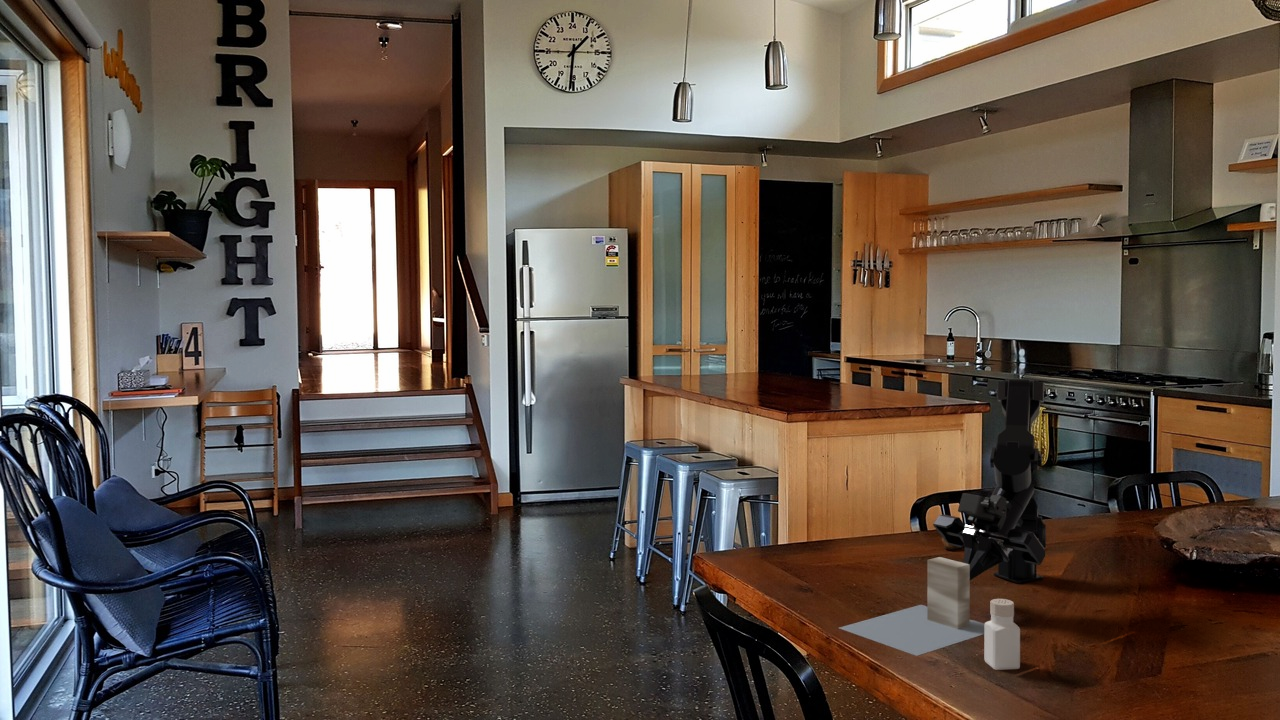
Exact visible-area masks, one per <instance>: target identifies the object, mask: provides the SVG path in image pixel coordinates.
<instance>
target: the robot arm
mask: <svg viewBox="0 0 1280 720" xmlns="http://www.w3.org/2000/svg"><path fill="white" fill-rule="evenodd" d="M996 397H997V402H999V403H1000V404H1001V410H1002V411H1001V412H1002V414H1003V415H1004V417H1005V419H1004V420H1005V421H1004V422H1005V423H1004V429H1003V430H1002V431H1001V432H999V433H998V434H997V436H996V443H995V445H996V446H992V447H991V452H990V457H989V458H990V460H989V465H990V468H991V469H993V470H994V481H995V484H996V487H995V489H994V490H993V492H992V493H991V495H990V497H987V496H982V495H977V494H973V493H965V492H963V493H961V498H960V501H959V505H958V508H957V512H959V513H963V514H965V515H966V516H968V518H967V520H968V521H969V523H970V524H973V525H968V524H965V523H964V522H963V519H961V518H960V517H958V516H954V515H948V514H940V515H938V516H937V517H936V518H935V521H934V522H933V524H932V526H933V528H935V530H936V531H937V532H938V534H939V535H940V537H941V539H942V538H943V539H944V540H945V541H946V543H948V544H950V545H953V546H958V547H961V548H964V555H963V556H964V557H963V563H966V564H970V581H972V580H974V579H975V578H977V577H978V576H979V575H982V574H984V573H985V572H986V571H988V570H989V569H991V568H993V567H995V566H997V565H998V566H997V568H998V570H997V571H994V572H993V576H995V577H999V578H1001V579H1004V580H1008V581H1009V582H1014V583H1016V584H1022V583H1027V582H1033V581H1037V580H1043V579H1044V576H1043V575H1041V574H1038V573H1037V566H1040V565H1041V564H1042V563H1043V561H1044V559H1045V557H1046V549H1045V548H1047V545H1046V544H1047V533H1046V531H1047V530H1046V529H1047V528H1046V527H1047V526H1046V524H1045V522H1044V520H1043V517H1042V516H1039V508H1038V504H1037V502H1036V500H1035V498H1034V497H1033V495H1034V493H1035V487H1034V484H1033V482H1032V475H1034V473H1035V470H1036V471H1038V470H1039V467H1041V468H1042V466H1043V454H1041V451H1040V450H1039V448H1035V436H1034V434H1032V425H1033V423H1034V421H1036V419H1037V418H1038V417H1039V416H1040V413H1041V403H1045V384H1044V382H1041V381H1039V380H1038V378H1018V377H1017V378H1014V377H1013V378H1012V377H1011V378H1010V377H1009V378H1004V380H1002V381H998V382H997V396H996Z"/></svg>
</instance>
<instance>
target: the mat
mask: <svg viewBox="0 0 1280 720" xmlns="http://www.w3.org/2000/svg"><path fill="white" fill-rule="evenodd" d="M984 624H985V622H980V621H977V620H974V619H973V620H972V619H970V626H966V627H963V628H960V629H955V628H952V627H949V626H946V625H942V624H939V623H936V622H933V621H930V620H927V606H926V605H924V604H918V605H915V606H912V607H911V606H910V607H907V608H904V609H900V610H896V611H894V612H890V613H886V614H884V615H879V616H876V617H872V618H868V619H865V620H861V621H858V622H855V623H850V624H847V625H844V626H840V627H838V629H840V630H843V631H845V632H848V633H850V634H853V635H857V636H859V637H862V638H865V639H868V640H870V641H874V642H876V643H878V644H882V645H885V646H887V647H891V648H893V649H896V650H897V651H901V652H905V653H907V654H910V655H912V656H915V657H918V656H921V655H924V654H927V653H930V652H934V651H936V650H939V649H943V648H946V647H949V646H952V645H956V644H957V643H958V644H959V643H961V642H965V641H967V640H972V639H975V638H976V637H980V636H984Z"/></svg>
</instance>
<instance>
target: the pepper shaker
mask: <svg viewBox="0 0 1280 720" xmlns="http://www.w3.org/2000/svg"><path fill="white" fill-rule="evenodd" d="M989 604H990V606H989V607H990V610H989V611H990V612H989V613H990V616H991V617H990V620H987V621H986V622H984V634H983V636H984V639H983V640H984V641H983V642H984V645H983V647H984V649H983V650H984V652H983V653H984V658H983V659H984V662H985V663H986V664H987V665H989V666H990V668H992V669H993V670H997V671H1004V670H1018V669H1020V667H1021V629H1020V627H1019V626H1018V624H1016V623H1015V622H1014V616H1015V603H1014V601H1012V600H1010V599H1006V598H994V599H991V600H990V603H989Z"/></svg>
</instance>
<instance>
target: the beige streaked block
mask: <svg viewBox="0 0 1280 720" xmlns="http://www.w3.org/2000/svg"><path fill="white" fill-rule="evenodd" d="M926 561H927V569H926V570H927V573H926V574H927V575H926V576H927V577H926V578H927V584H926V585H927V589H926V590H927V591H926V592H927V596H926V599H927V601H926V602H927V620H930V621H933V622H936V623H939V624H942V625H946V626H949V627H952V628H955V629H960V628H963V627H966V626H970V620H971V619H970V615H971V614H970V613H971V612H970V609H971V608H970V595H971V594H970V592H971V591H970V590H971V589H970V588H971V587H970V582H971V580H970V564H966V563H964V562H962V561H957V560H952V559H949V558H945V557H941V556H938V557H934V558H931V559H927V560H926Z"/></svg>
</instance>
